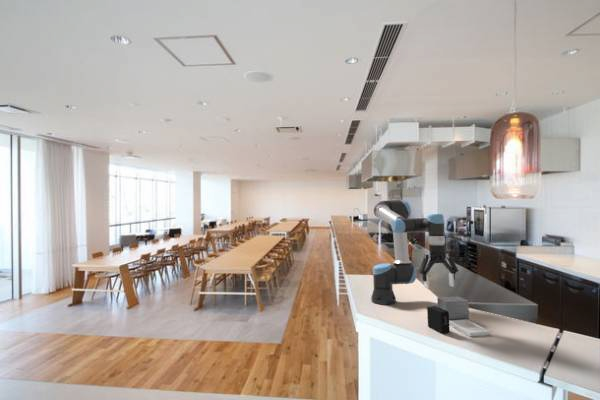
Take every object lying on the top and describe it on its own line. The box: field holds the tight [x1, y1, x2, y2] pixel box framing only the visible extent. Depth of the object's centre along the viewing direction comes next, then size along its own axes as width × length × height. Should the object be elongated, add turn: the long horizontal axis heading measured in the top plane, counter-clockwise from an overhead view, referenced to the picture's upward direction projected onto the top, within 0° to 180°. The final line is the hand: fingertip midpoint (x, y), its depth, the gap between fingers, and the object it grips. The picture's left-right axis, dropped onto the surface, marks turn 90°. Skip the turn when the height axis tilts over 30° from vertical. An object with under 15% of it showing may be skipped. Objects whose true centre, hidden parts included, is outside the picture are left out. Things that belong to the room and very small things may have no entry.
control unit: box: [437, 295, 473, 322], centre depth 159 cm, size 10×14×11 cm
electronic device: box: [426, 305, 450, 335], centre depth 146 cm, size 4×10×10 cm, turn 15°
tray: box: [449, 319, 491, 338], centre depth 146 cm, size 16×10×2 cm, turn 7°
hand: (439, 287), depth 153 cm, fingers open, 13 cm apart
